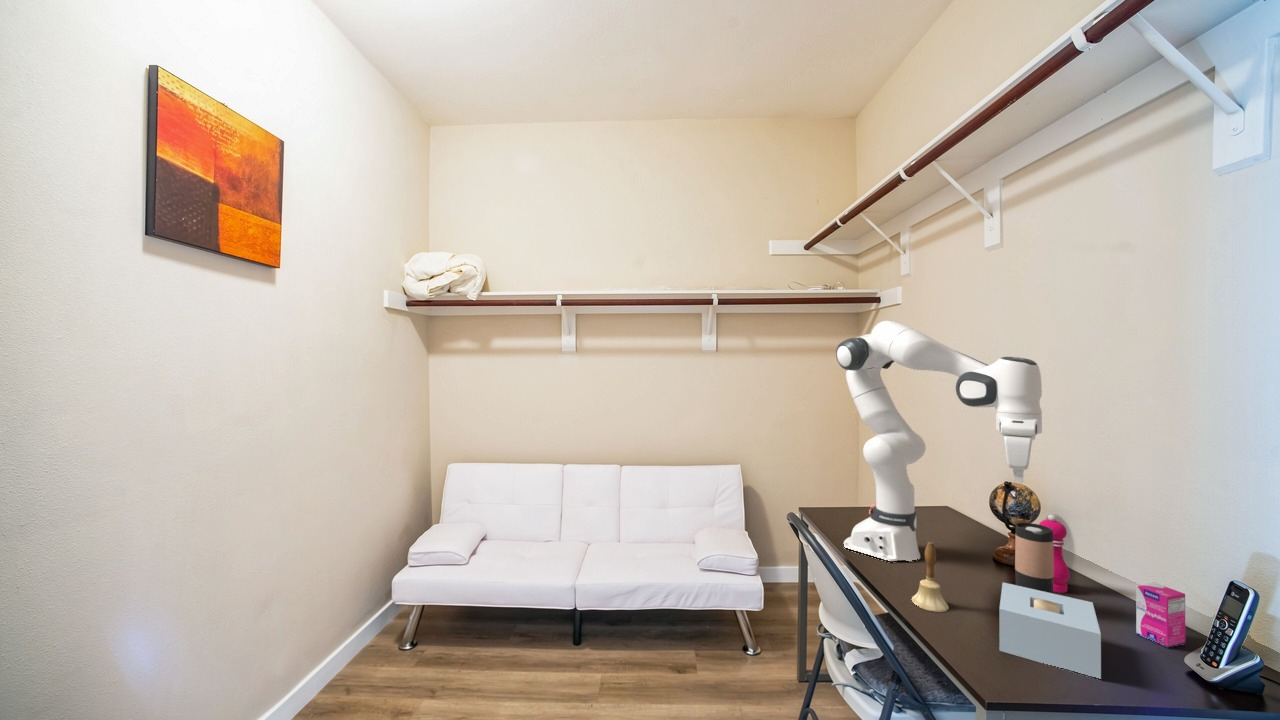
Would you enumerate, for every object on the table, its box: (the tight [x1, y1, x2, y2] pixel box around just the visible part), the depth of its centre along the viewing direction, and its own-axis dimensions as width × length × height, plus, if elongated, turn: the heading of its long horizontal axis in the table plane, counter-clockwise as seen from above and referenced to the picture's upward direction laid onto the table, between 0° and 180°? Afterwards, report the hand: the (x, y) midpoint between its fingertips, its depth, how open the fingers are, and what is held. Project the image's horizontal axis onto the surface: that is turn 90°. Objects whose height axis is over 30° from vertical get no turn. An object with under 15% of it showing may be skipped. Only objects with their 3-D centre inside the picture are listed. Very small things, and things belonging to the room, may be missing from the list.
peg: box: [1034, 599, 1060, 614], centre depth 108 cm, size 4×4×8 cm
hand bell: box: [910, 540, 950, 613], centre depth 126 cm, size 8×8×16 cm
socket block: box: [998, 582, 1102, 680], centre depth 108 cm, size 16×16×9 cm
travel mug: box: [1014, 522, 1054, 594], centre depth 125 cm, size 8×8×20 cm
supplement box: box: [1135, 581, 1186, 647], centre depth 110 cm, size 6×6×12 cm
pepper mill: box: [1038, 514, 1071, 594], centre depth 135 cm, size 7×7×20 cm
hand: (1018, 481), depth 119 cm, fingers closed
